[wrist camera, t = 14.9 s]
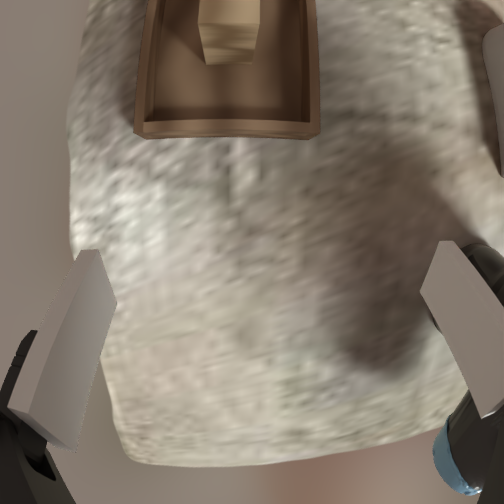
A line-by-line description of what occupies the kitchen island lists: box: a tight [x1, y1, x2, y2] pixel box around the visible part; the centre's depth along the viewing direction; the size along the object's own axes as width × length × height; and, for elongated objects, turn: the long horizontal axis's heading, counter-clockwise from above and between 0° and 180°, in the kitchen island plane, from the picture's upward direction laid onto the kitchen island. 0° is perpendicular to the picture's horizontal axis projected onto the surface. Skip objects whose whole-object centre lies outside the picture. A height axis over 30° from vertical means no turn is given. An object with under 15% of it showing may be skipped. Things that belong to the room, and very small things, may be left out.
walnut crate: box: [133, 0, 320, 140], centre depth 28 cm, size 18×22×5 cm
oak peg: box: [198, 0, 260, 65], centre depth 25 cm, size 5×5×10 cm
